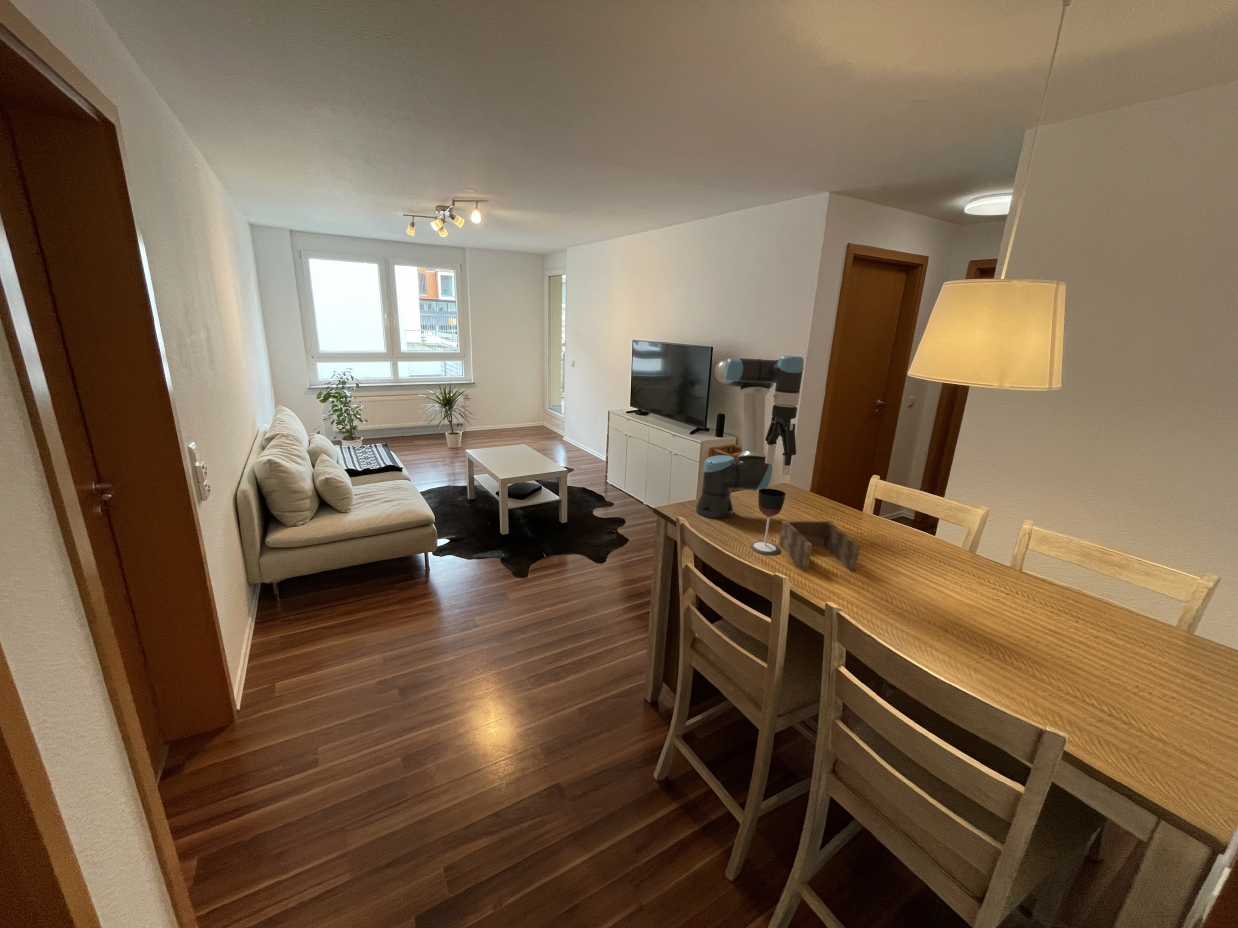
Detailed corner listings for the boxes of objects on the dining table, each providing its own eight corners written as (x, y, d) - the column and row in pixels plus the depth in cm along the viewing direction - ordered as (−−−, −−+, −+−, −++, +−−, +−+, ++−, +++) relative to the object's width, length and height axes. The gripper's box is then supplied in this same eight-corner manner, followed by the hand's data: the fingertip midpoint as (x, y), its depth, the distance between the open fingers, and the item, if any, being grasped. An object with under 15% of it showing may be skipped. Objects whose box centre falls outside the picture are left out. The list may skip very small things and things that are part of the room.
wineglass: (780, 552, 168) (788, 496, 163) (755, 551, 168) (762, 495, 163) (774, 542, 176) (781, 489, 170) (749, 541, 176) (756, 487, 170)
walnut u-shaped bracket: (779, 544, 176) (782, 520, 173) (825, 544, 177) (829, 521, 175) (803, 570, 156) (807, 544, 154) (855, 571, 158) (860, 545, 155)
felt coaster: (746, 542, 176) (746, 541, 176) (774, 542, 177) (774, 541, 176) (756, 554, 166) (756, 553, 166) (785, 555, 167) (785, 554, 167)
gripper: (760, 399, 170) (753, 458, 176) (789, 411, 146) (780, 479, 152) (781, 400, 171) (773, 459, 176) (813, 412, 147) (803, 480, 152)
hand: (776, 468), depth 164 cm, fingers open, 13 cm apart
